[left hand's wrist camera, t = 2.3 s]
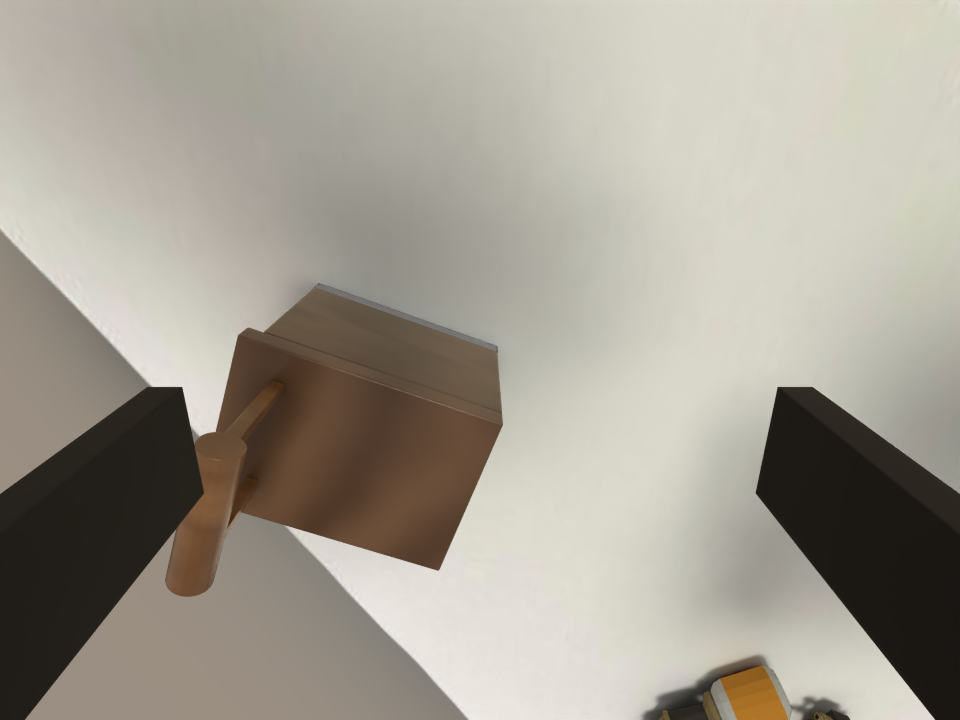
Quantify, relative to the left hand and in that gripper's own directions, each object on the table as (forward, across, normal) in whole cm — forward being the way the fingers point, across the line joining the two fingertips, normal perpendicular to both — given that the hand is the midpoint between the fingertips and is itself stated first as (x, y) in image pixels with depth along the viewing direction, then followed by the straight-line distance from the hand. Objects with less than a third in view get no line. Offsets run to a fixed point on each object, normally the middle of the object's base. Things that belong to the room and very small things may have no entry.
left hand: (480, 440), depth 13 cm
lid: (+15, -7, -9) cm, 19 cm away
